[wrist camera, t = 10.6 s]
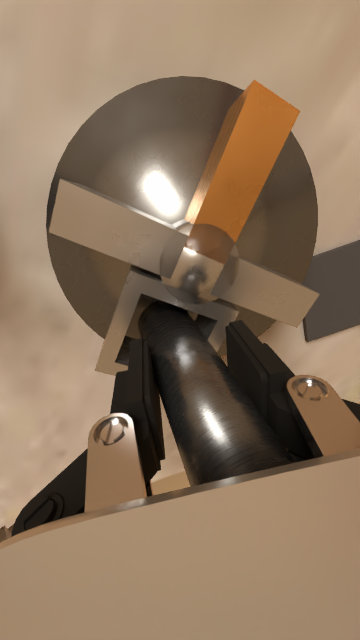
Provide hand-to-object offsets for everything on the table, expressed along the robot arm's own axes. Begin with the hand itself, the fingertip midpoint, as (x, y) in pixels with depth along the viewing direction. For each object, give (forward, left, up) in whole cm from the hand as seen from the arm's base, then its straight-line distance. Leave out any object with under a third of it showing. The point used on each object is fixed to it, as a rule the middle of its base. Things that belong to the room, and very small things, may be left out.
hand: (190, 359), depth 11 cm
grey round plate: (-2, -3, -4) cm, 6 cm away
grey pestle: (+1, -1, -4) cm, 4 cm away
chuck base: (-2, -4, -8) cm, 9 cm away
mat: (-13, +4, -8) cm, 16 cm away
